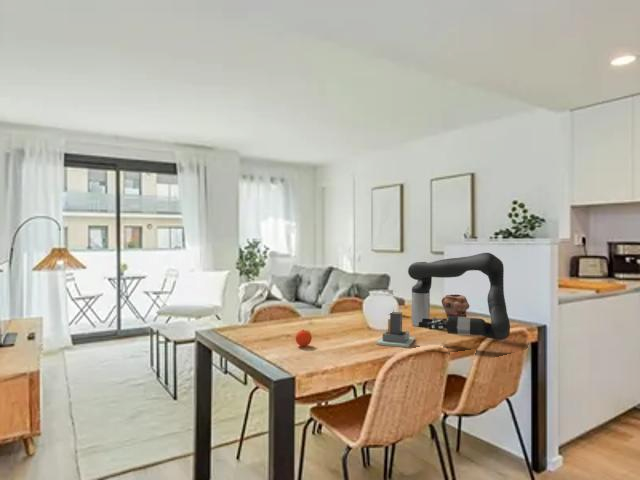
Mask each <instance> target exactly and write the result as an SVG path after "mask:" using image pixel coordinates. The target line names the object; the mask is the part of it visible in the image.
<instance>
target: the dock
mask: <svg viewBox="0 0 640 480" xmlns="http://www.w3.org/2000/svg"><path fill="white" fill-rule="evenodd" d="M415 340H416V337H415V336H410V331H403V330H402V335H392V334H388V329H387V330H386V331H384V332H383V333H382V337H380V338H379V339H378V340H377V341H376V342H375V343H376V344H375V345H376V346H387V347H397V348H398V347H399V348H409V347H411V345H412V344H413V342H414V341H415Z"/></svg>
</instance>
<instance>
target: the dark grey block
mask: <svg viewBox="0 0 640 480" xmlns="http://www.w3.org/2000/svg"><path fill="white" fill-rule="evenodd" d="M389 316H390V317H389V318H388V319H387V330H388V334H392V335H402V331H403V312H401V311H393V312H392V313H390V314H389Z"/></svg>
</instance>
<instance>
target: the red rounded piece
mask: <svg viewBox="0 0 640 480" xmlns="http://www.w3.org/2000/svg"><path fill="white" fill-rule="evenodd" d="M295 342H296V344H297V345H299V346H300V347H307V346H309V345H310V344H311V342H312V334H311V331H310V330H309V329H301V330H299V331H298V332H297V333H296V335H295Z"/></svg>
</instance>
